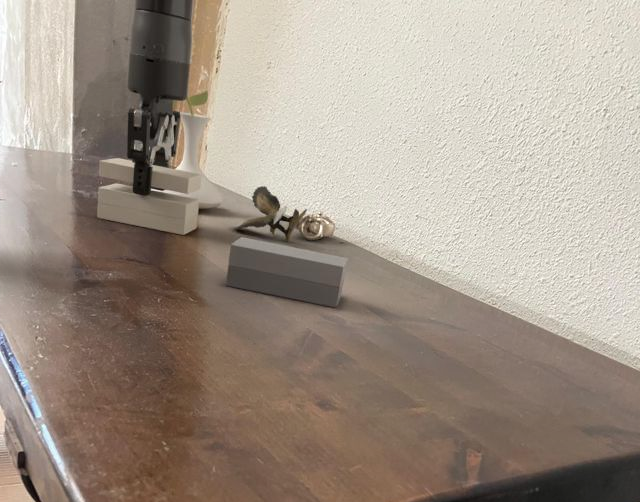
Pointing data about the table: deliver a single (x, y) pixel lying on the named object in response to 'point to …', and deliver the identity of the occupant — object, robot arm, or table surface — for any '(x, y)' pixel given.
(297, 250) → the grey books
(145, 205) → the white books
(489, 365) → the table surface
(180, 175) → the white book
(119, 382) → the table surface
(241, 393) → the table surface
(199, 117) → the flower in vase
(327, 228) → the ornament
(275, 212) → the eagle figurine
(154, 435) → the table surface
